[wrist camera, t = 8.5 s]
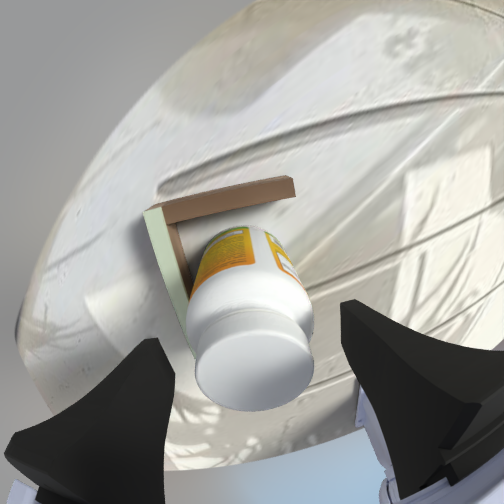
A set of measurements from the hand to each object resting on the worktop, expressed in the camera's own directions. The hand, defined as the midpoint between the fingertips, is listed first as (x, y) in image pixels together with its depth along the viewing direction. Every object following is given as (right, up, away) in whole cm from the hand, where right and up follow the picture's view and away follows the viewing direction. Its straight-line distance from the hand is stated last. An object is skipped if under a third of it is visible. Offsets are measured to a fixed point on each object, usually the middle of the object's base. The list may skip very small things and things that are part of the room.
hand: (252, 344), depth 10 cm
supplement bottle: (-1, +3, +7) cm, 8 cm away
